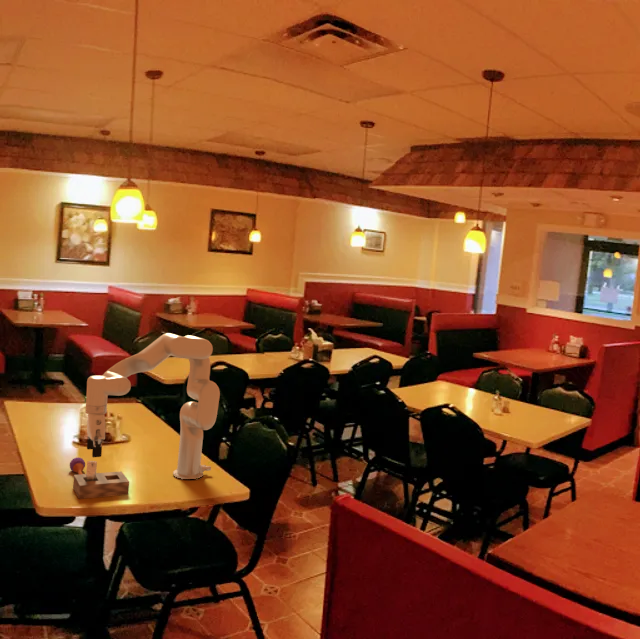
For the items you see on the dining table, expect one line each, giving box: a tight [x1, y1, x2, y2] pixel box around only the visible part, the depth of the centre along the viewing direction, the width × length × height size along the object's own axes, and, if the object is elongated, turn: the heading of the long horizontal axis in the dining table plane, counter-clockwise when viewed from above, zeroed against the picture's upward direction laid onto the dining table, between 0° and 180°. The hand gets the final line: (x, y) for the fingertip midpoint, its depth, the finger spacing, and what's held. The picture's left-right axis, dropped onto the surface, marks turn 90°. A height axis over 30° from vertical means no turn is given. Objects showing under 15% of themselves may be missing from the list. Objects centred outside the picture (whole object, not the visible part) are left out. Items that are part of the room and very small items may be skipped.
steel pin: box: [85, 460, 98, 482], centre depth 245 cm, size 4×4×10 cm
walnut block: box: [72, 470, 130, 500], centre depth 248 cm, size 18×12×5 cm, turn 121°
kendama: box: [69, 457, 86, 475], centre depth 260 cm, size 6×6×20 cm
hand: (94, 452), depth 245 cm, fingers open, 9 cm apart
